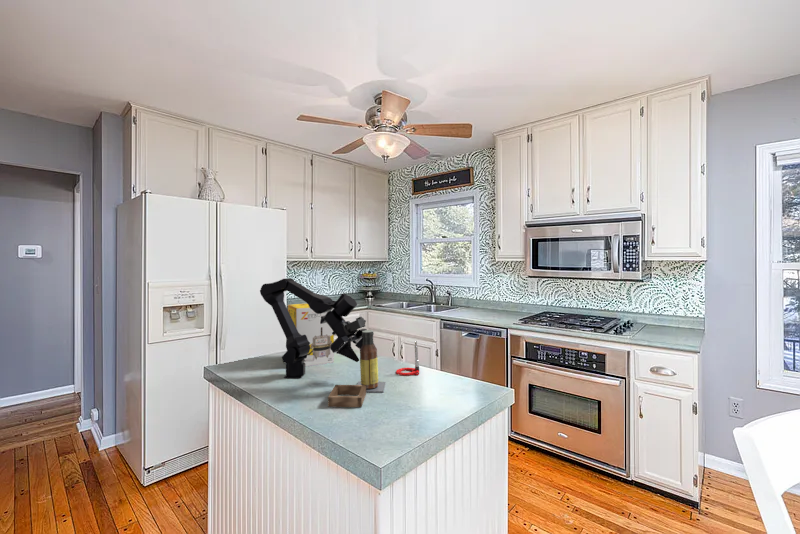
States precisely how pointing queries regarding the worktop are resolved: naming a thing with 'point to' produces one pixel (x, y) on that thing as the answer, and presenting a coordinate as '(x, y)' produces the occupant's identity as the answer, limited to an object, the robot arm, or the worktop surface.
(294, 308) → the packaging box
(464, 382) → the worktop surface
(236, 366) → the worktop surface
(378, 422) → the worktop surface
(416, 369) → the tow hook
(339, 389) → the holder frame
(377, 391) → the slate tile
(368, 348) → the sauce bottle
